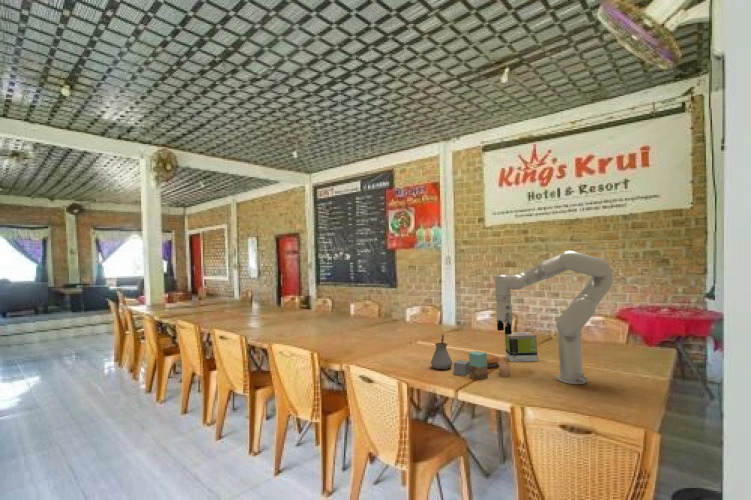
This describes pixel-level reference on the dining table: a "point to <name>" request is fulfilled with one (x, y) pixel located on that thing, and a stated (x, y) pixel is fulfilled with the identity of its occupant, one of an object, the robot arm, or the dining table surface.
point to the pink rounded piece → (504, 369)
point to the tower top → (478, 359)
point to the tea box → (521, 347)
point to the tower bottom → (479, 372)
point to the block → (461, 367)
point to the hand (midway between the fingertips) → (504, 332)
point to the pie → (492, 360)
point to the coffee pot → (441, 356)
